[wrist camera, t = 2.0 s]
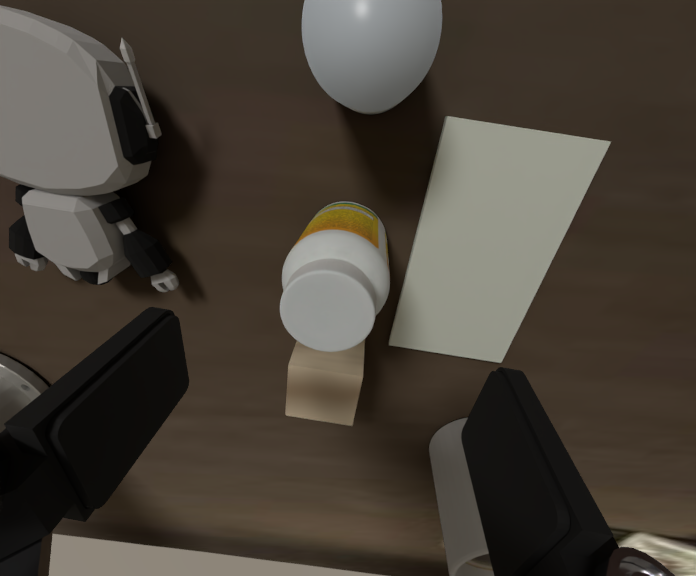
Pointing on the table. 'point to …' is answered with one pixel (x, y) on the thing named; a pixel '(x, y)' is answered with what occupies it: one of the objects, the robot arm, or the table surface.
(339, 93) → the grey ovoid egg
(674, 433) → the table surface
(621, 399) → the table surface
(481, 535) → the mug
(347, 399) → the birch block
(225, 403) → the table surface
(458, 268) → the sage mat
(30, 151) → the robot toy
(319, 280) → the supplement bottle
